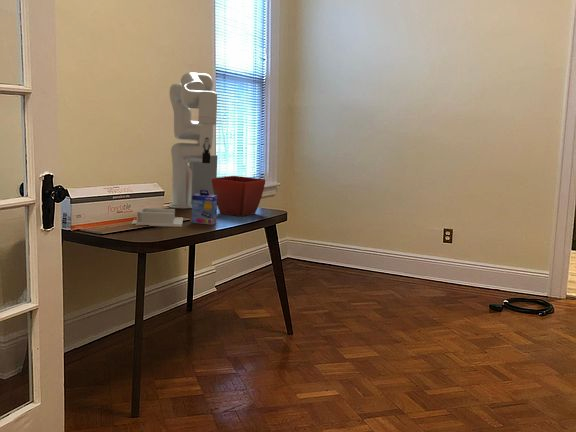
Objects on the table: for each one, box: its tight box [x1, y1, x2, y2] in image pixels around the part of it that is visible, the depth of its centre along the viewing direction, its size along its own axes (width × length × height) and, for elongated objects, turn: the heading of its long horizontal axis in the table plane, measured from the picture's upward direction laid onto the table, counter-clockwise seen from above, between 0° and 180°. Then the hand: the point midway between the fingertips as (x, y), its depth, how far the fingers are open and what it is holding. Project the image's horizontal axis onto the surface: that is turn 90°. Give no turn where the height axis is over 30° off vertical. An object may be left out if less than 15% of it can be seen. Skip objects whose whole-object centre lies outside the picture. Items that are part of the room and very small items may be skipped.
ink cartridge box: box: [191, 190, 218, 226], centre depth 248 cm, size 10×6×14 cm, turn 83°
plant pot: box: [212, 175, 266, 217], centre depth 276 cm, size 19×19×17 cm
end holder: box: [131, 207, 184, 228], centre depth 244 cm, size 16×20×5 cm
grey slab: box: [188, 154, 218, 203], centre depth 307 cm, size 14×6×25 cm, turn 123°
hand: (206, 162), depth 244 cm, fingers open, 9 cm apart
